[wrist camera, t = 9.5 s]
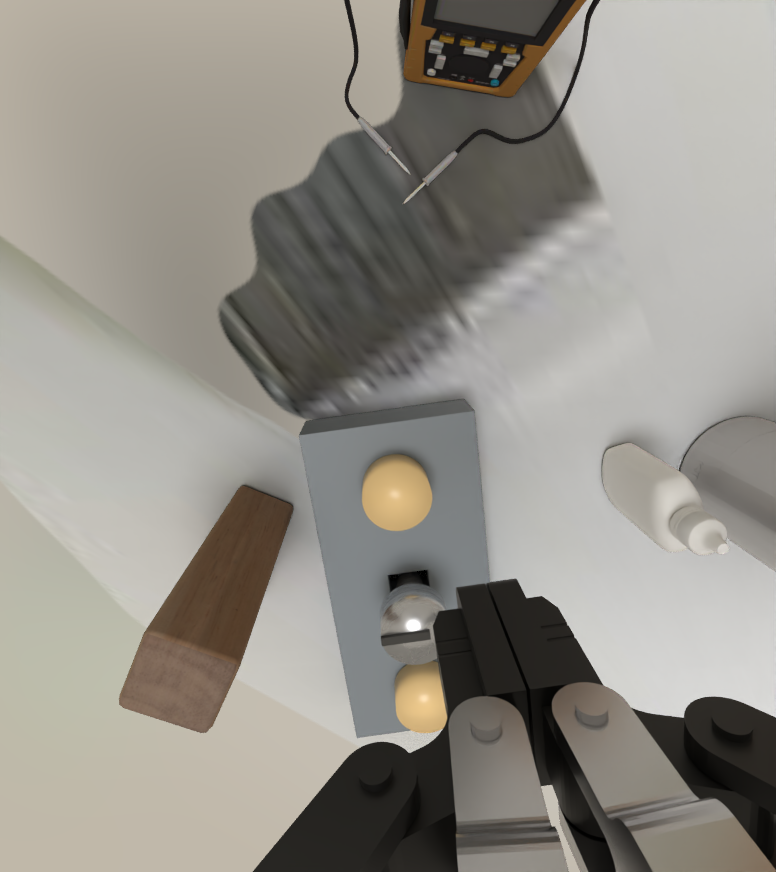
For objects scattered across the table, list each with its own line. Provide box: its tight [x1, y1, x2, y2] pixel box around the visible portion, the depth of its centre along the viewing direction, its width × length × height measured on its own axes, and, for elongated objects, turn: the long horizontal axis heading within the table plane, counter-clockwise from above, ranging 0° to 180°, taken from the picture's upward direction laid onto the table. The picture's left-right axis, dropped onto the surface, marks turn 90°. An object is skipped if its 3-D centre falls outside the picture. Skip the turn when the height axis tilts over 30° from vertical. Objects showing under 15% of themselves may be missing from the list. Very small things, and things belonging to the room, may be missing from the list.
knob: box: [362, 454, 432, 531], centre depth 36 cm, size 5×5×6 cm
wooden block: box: [119, 486, 293, 733], centre depth 32 cm, size 9×4×18 cm, turn 155°
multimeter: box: [344, 0, 600, 205], centre depth 24 cm, size 15×10×20 cm
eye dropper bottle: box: [602, 443, 729, 555], centre depth 35 cm, size 4×6×12 cm
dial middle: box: [380, 572, 447, 665], centre depth 36 cm, size 5×5×6 cm
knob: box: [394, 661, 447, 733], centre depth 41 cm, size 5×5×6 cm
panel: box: [299, 399, 490, 738], centre depth 40 cm, size 12×26×4 cm, turn 8°
